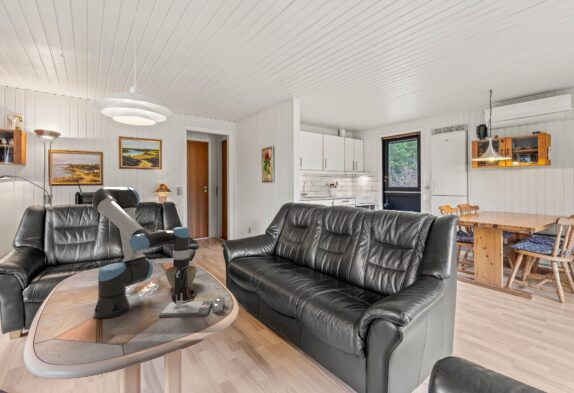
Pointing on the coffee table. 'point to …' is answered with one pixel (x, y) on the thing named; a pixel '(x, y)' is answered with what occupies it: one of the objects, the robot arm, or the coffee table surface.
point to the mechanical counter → (186, 294)
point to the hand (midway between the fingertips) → (181, 303)
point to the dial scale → (187, 309)
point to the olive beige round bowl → (172, 271)
